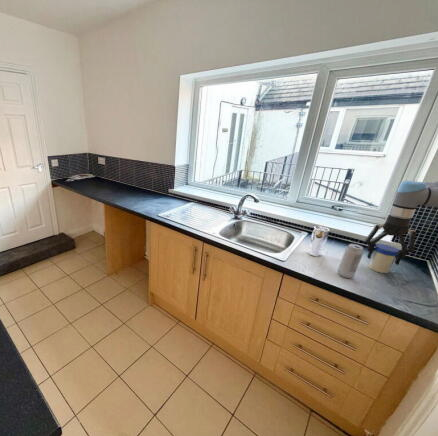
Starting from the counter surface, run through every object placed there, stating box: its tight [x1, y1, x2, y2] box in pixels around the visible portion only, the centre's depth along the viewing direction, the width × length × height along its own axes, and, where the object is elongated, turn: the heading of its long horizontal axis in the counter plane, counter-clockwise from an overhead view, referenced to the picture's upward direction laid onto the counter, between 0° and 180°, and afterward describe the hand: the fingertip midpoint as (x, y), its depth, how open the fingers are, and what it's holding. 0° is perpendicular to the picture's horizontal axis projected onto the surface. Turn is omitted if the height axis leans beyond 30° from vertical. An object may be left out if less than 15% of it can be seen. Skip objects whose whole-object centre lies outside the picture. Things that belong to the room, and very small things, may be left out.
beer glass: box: [307, 225, 331, 257], centre depth 128 cm, size 7×7×15 cm
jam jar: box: [368, 249, 396, 274], centre depth 115 cm, size 7×7×11 cm
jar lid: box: [374, 243, 400, 257], centre depth 114 cm, size 8×8×2 cm
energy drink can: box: [337, 243, 365, 279], centre depth 109 cm, size 6×6×15 cm
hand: (382, 260), depth 115 cm, fingers open, 9 cm apart
